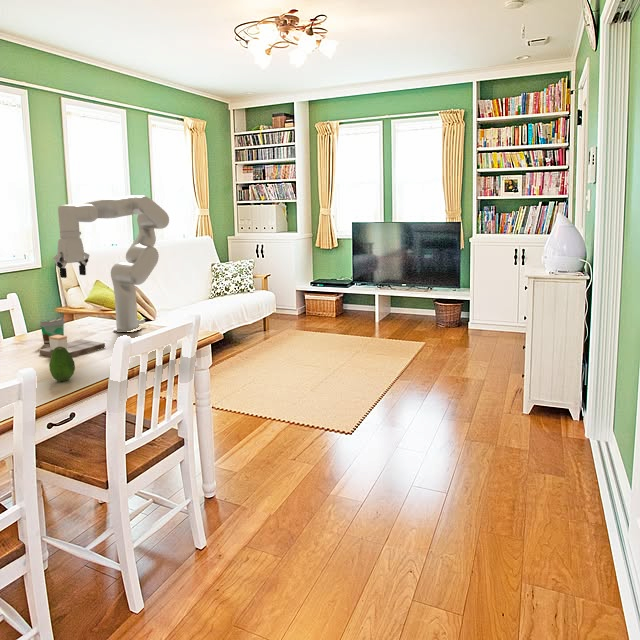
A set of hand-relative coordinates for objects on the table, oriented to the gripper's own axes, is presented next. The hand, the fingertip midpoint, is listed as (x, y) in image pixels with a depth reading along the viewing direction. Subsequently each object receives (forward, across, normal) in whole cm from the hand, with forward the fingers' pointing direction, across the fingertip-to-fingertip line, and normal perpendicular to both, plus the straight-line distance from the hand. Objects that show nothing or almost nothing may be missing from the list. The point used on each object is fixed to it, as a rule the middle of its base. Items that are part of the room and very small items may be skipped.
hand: (73, 276), depth 244 cm
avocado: (+28, +40, +40) cm, 63 cm away
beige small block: (+26, +18, +11) cm, 34 cm away
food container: (+28, +5, -7) cm, 30 cm away
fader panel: (+28, +12, +11) cm, 33 cm away
